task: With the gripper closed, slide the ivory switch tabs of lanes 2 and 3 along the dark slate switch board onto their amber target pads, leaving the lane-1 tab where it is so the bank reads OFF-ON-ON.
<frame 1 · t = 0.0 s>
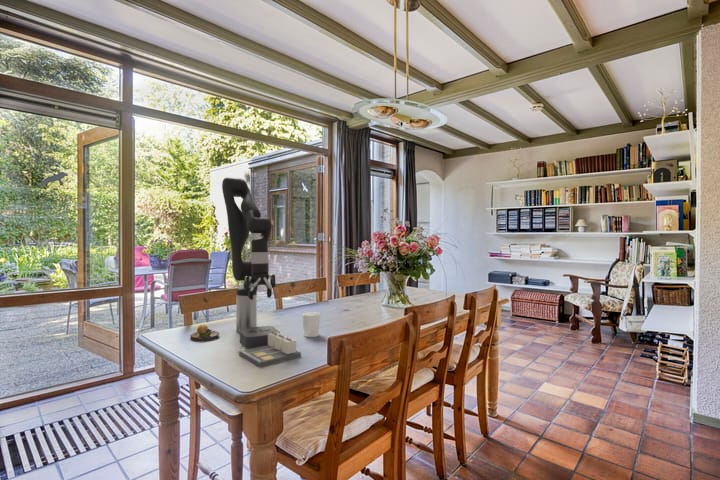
hand: (260, 298, 167), 17 cm above the table, tool pointing down, fingers open, 8 cm apart
white cup: (311, 335, 171), on the table
switch board: (269, 355, 143), on the table
streaming box: (259, 343, 159), on the table
tab 1: (274, 338, 150), point 4 cm above the table, slide at 0.0 cm
tab 3: (288, 345, 142), point 4 cm above the table, slide at 0.0 cm
tab 2: (281, 341, 146), point 4 cm above the table, slide at 0.0 cm
wood slice table decoration: (204, 338, 166), on the table
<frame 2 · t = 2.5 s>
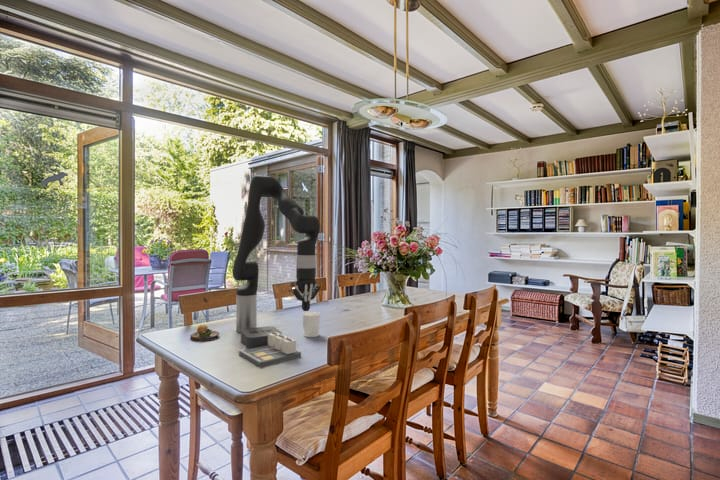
hand: (305, 310, 146), 17 cm above the table, tool pointing down, fingers closed
streaming box: (261, 344, 158), on the table
everything else where it was.
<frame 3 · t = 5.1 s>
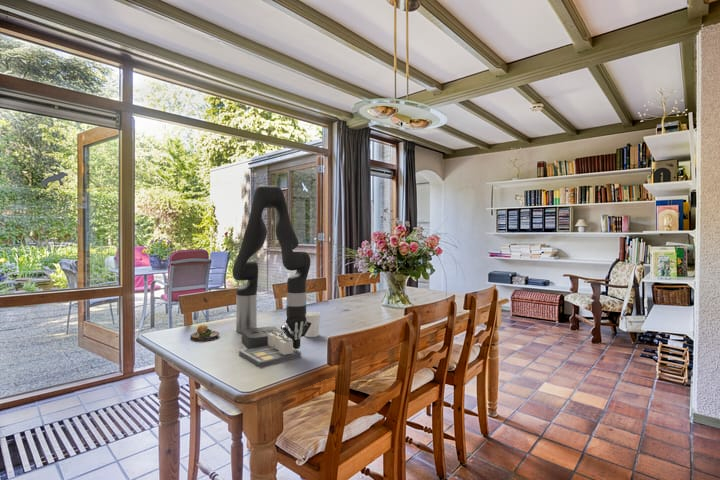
hand: (296, 348, 144), 3 cm above the table, tool pointing down, fingers closed
tab 3: (285, 345, 141), point 4 cm above the table, slide at 1.4 cm, touching gripper
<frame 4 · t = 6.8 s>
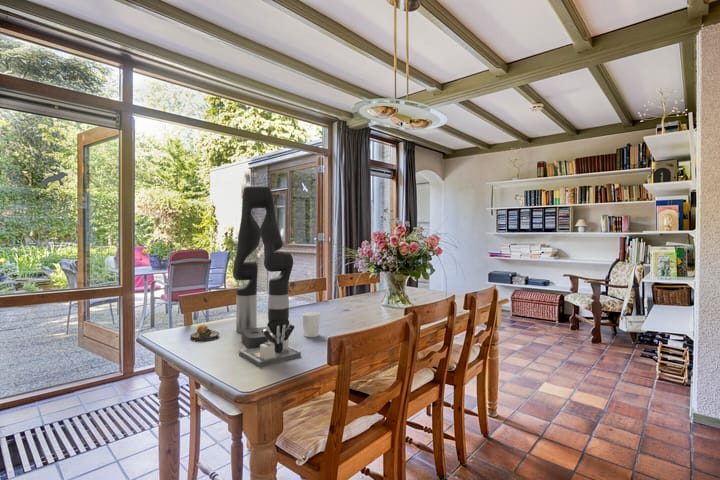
hand: (278, 352, 139), 3 cm above the table, tool pointing down, fingers closed
streaming box: (262, 344, 158), on the table, touching switch board
tab 3: (267, 350, 136), point 4 cm above the table, slide at 9.0 cm, touching gripper
everything else where it was.
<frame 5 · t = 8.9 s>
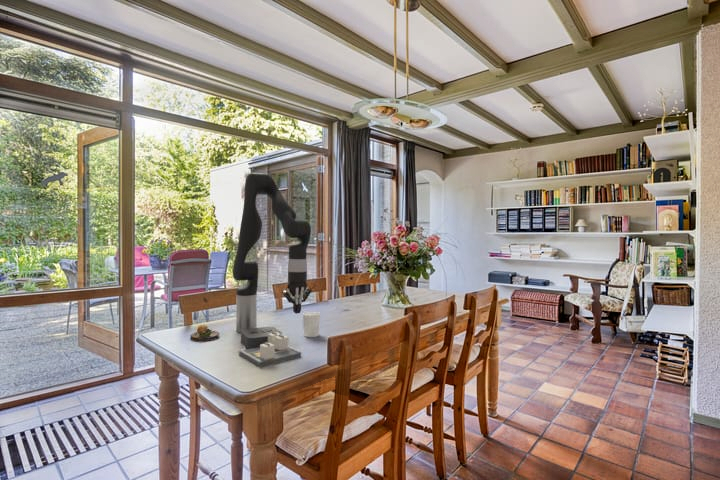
hand: (297, 313, 150), 15 cm above the table, tool pointing down, fingers closed
streaming box: (261, 344, 158), on the table
tab 3: (267, 350, 136), point 4 cm above the table, slide at 9.0 cm
everything else where it was.
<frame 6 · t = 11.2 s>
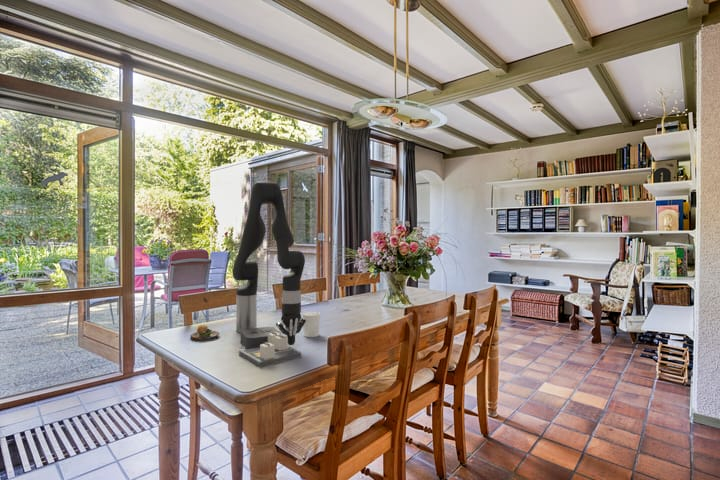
hand: (291, 344, 149), 3 cm above the table, tool pointing down, fingers closed
tab 2: (280, 342, 146), point 4 cm above the table, slide at 0.2 cm, touching gripper
everything else where it was.
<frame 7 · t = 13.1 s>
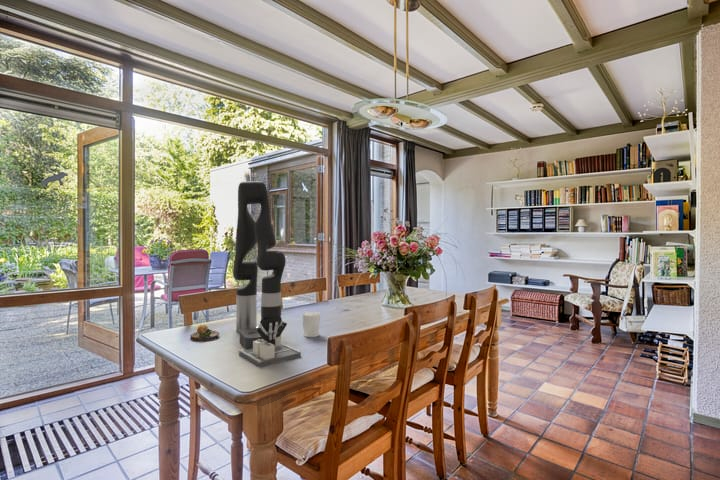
hand: (271, 348, 143), 3 cm above the table, tool pointing down, fingers closed
tab 2: (260, 346, 140), point 4 cm above the table, slide at 9.1 cm, touching gripper
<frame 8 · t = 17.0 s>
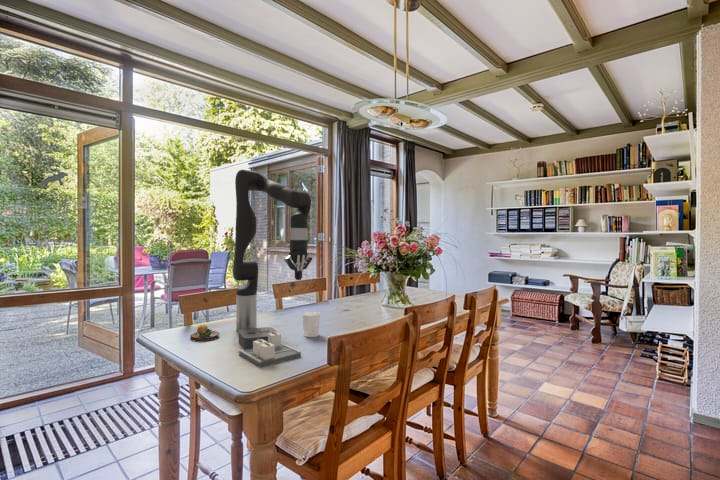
hand: (298, 279, 158), 27 cm above the table, tool pointing down, fingers closed
tab 2: (260, 346, 140), point 4 cm above the table, slide at 9.0 cm
at the end: tab 3 slide at 9.0 cm; tab 2 slide at 9.0 cm; tab 1 slide at 0.0 cm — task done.
